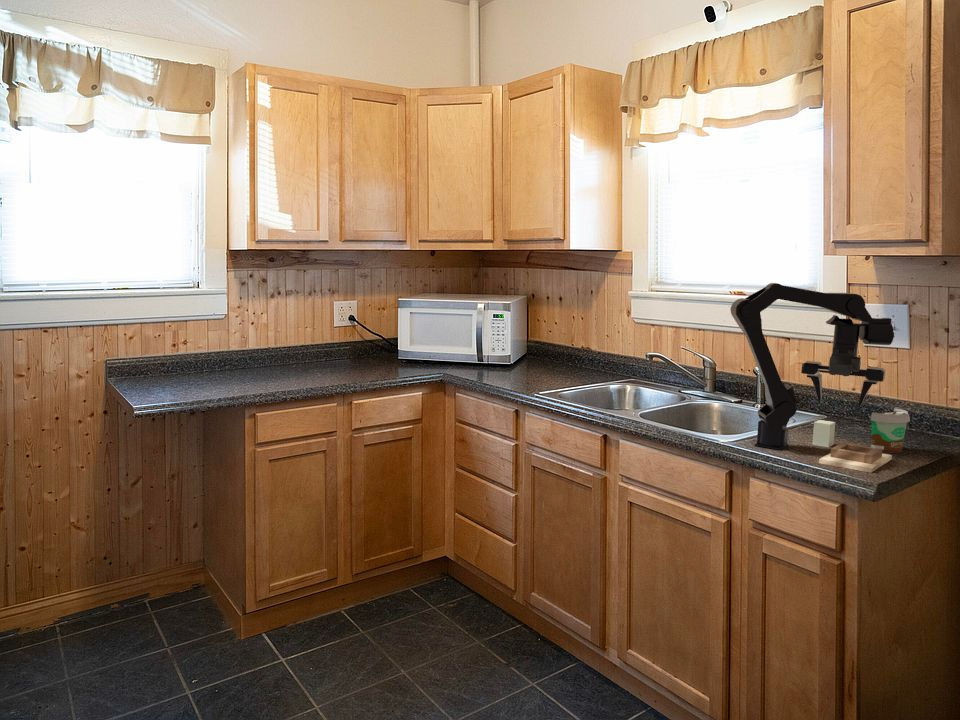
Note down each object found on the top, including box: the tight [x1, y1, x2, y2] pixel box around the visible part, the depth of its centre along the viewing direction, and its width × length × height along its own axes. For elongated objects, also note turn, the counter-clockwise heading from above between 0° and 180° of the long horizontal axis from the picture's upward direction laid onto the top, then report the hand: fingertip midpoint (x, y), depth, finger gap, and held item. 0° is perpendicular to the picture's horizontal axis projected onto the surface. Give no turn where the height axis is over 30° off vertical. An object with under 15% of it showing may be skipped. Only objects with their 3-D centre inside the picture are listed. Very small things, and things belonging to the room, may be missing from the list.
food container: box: [869, 407, 911, 454], centre depth 197 cm, size 12×6×10 cm, turn 126°
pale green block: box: [812, 419, 836, 448], centre depth 203 cm, size 4×4×6 cm
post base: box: [818, 442, 893, 474], centre depth 187 cm, size 12×17×3 cm
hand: (839, 404), depth 197 cm, fingers open, 9 cm apart
